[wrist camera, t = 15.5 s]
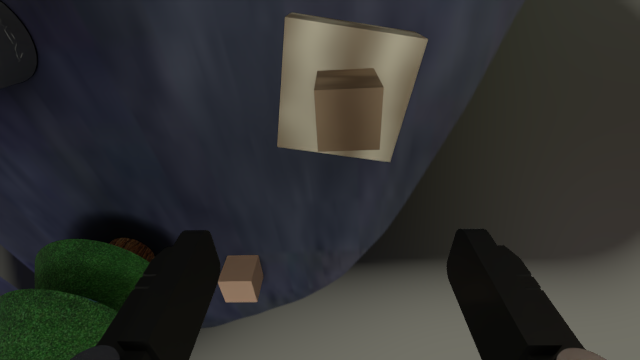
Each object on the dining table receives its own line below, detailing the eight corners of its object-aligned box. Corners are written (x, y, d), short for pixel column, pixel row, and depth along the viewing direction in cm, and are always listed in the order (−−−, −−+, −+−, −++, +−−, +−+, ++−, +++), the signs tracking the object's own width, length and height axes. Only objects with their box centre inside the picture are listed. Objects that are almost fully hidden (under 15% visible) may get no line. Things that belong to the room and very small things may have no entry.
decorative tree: (64, 266, 50) (-207, 550, 25) (74, 187, 40) (-348, 518, 15) (176, 303, 55) (44, 571, 30) (208, 240, 45) (55, 557, 20)
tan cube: (234, 275, 50) (225, 302, 46) (227, 255, 47) (217, 281, 43) (263, 275, 49) (257, 302, 45) (258, 254, 47) (251, 281, 42)
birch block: (283, 127, 35) (277, 146, 31) (292, 12, 28) (285, 16, 24) (383, 141, 35) (389, 162, 31) (414, 31, 29) (428, 39, 24)
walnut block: (320, 123, 29) (317, 151, 24) (317, 70, 26) (313, 90, 21) (371, 121, 29) (379, 149, 24) (373, 68, 26) (383, 87, 21)
